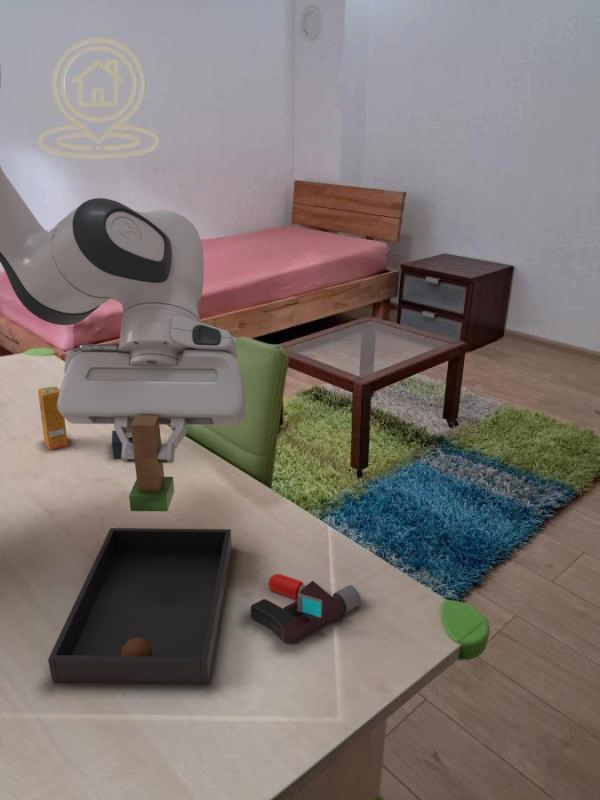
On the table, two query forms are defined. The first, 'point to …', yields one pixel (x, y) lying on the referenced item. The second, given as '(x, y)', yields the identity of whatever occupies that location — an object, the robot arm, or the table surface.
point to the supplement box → (52, 418)
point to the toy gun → (302, 608)
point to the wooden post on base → (149, 468)
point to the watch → (118, 444)
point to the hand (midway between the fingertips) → (147, 461)
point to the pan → (147, 609)
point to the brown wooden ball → (136, 648)
